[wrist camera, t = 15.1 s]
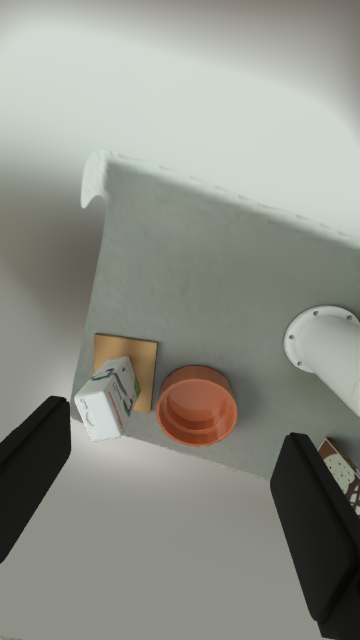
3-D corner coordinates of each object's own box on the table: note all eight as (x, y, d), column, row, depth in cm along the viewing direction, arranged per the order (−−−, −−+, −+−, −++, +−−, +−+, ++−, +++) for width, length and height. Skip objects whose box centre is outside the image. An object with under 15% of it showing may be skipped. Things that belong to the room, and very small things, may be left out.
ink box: (141, 391, 44) (123, 440, 32) (119, 396, 44) (92, 444, 33) (128, 354, 41) (103, 391, 30) (104, 359, 42) (71, 397, 31)
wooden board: (157, 341, 41) (156, 343, 40) (150, 410, 46) (150, 413, 45) (96, 333, 41) (94, 334, 41) (95, 402, 46) (93, 404, 45)
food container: (328, 481, 48) (361, 537, 38) (302, 473, 48) (328, 528, 38) (356, 439, 44) (401, 490, 35) (328, 431, 44) (365, 480, 35)
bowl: (239, 370, 42) (245, 386, 37) (225, 431, 46) (228, 452, 41) (164, 359, 42) (160, 373, 37) (157, 420, 46) (152, 440, 42)
